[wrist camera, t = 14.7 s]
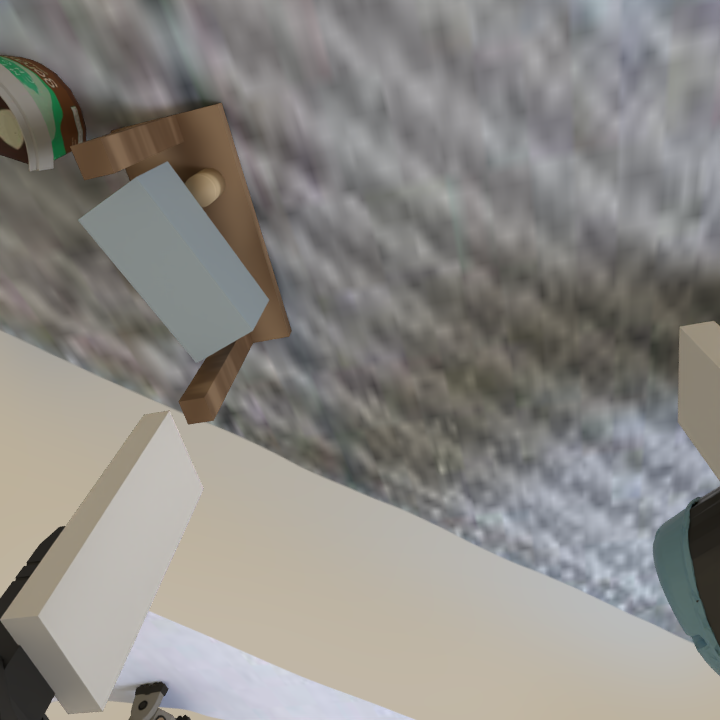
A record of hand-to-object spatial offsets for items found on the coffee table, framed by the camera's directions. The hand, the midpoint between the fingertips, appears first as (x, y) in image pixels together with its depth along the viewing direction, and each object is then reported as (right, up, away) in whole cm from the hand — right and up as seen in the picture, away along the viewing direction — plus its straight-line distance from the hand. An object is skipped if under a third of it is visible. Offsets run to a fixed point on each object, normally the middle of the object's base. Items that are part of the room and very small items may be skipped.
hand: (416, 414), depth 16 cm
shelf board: (-15, +10, +33) cm, 37 cm away
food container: (-27, +23, +32) cm, 48 cm away
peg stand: (-14, +12, +36) cm, 41 cm away
